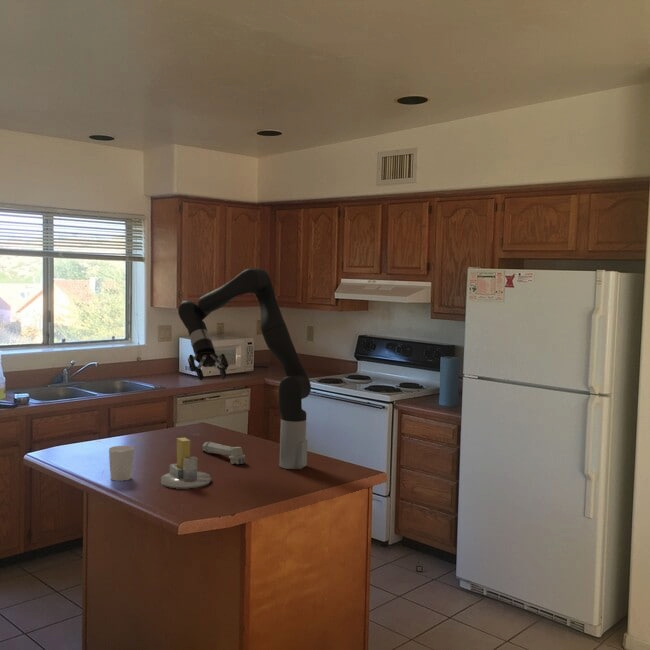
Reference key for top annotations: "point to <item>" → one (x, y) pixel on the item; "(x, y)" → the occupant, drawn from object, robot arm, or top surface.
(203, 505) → the top surface
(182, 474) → the round grey holder stand
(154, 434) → the top surface
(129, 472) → the white cup
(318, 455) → the top surface
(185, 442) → the yellow block
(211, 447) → the white long round-headed device
